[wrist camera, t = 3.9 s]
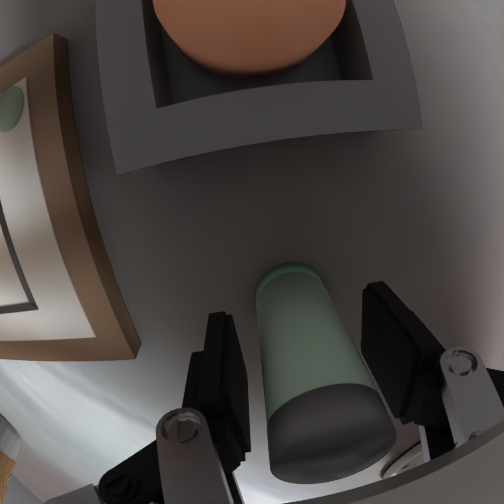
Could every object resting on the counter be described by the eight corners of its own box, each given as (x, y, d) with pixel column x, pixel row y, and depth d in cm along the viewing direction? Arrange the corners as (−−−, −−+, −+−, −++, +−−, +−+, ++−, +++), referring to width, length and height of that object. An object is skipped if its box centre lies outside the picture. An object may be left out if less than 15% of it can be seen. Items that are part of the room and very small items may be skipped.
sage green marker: (324, 316, 13) (384, 466, 6) (260, 328, 13) (276, 490, 6) (321, 257, 12) (408, 405, 5) (249, 269, 12) (261, 440, 5)
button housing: (375, 130, 10) (422, 129, 7) (150, 165, 11) (116, 175, 7) (329, -47, 7) (353, -85, 4) (125, -19, 7) (96, -55, 4)
